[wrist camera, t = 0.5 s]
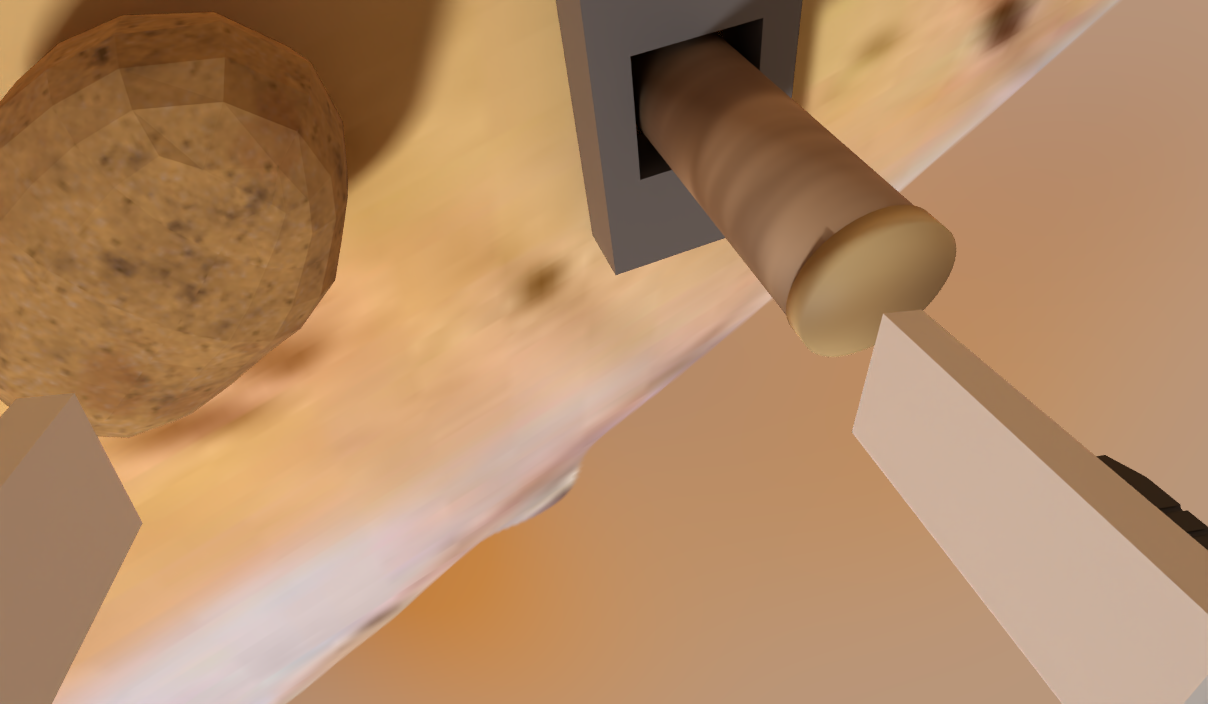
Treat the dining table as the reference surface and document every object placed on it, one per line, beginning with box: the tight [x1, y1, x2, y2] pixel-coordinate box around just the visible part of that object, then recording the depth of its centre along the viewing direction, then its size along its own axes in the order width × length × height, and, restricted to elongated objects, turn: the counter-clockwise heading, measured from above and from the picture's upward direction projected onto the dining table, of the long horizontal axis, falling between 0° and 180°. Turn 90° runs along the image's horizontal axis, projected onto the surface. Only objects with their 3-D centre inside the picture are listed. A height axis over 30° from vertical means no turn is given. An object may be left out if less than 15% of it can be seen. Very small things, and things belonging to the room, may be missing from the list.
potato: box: [0, 12, 348, 438], centre depth 20 cm, size 10×14×8 cm
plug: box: [630, 32, 956, 357], centre depth 23 cm, size 5×5×14 cm
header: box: [556, 0, 802, 275], centre depth 26 cm, size 14×8×3 cm, turn 7°
